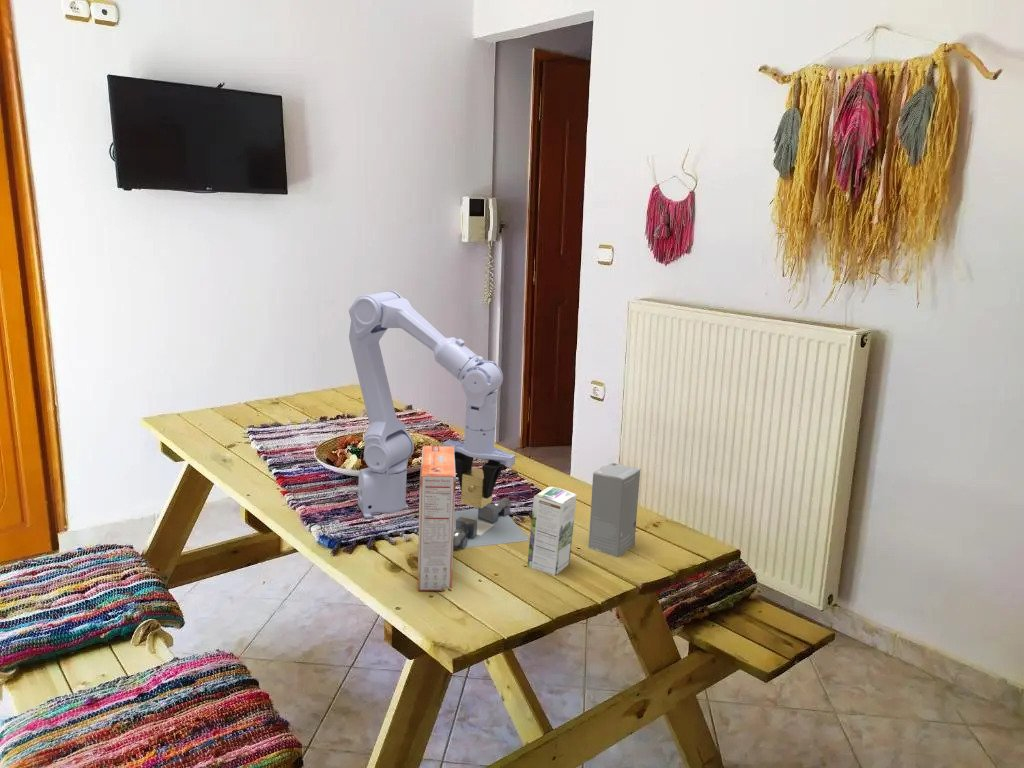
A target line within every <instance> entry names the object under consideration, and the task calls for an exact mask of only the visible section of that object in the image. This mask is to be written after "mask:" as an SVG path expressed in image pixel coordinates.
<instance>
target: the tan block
mask: <svg viewBox="0 0 1024 768" xmlns="http://www.w3.org/2000/svg"><path fill="white" fill-rule="evenodd" d="M460 494H461V497H460V498H461V499H460V504H462V505H466V506H470V507H474V508H476V509H478V508H483V507H484V506H486V505H487V504H489V503H492V502H493V495H492V496H490V497H489V498H488V499H486V498H484V474H483V469H482V468H479V467H478V468H477V467H471V469H470V470H469V471H467V472H465V473H463V475H462V492H461V493H460Z"/></svg>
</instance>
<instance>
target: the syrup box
mask: <svg viewBox="0 0 1024 768" xmlns="http://www.w3.org/2000/svg"><path fill="white" fill-rule="evenodd" d="M577 498H578V494H576V493H575V492H572V491H569V490H566V489H563V488H560V487H555V486H547V488H544V489H543V490H542V491H540V492H539V493H537V494H535V495H533V502H532V511H531V512H532V514H531V522H530V523H531V524H530V534H529V535H530V536H529V539H530V541H529V544H528V545H529V546H528V553H527V554H528V557H527V565H526V567H528V568H531V569H533V570H536V571H538V572H543V573H545V574H549V575H552V576H557V575H558V574H559V573H561V572H562V571H563V570H564V569H565V568H566V567H567V566H569V565H570V563H571V562H570V561H571V555H572V554H571V552H572V543H573V535H574V534H573V533H574V527H575V526H574V525H575V516H576V515H575V514H576V507H577V505H576V504H577Z"/></svg>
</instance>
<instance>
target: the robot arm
mask: <svg viewBox="0 0 1024 768" xmlns="http://www.w3.org/2000/svg"><path fill="white" fill-rule="evenodd" d="M348 313H349V317H350V327H349V335H348V337H349V344H350V347H351V348H350V349H351V353H352V357H353V361H354V365H355V369H356V374H357V378H358V383H359V387H360V389H361V394H362V399H363V403H364V407H365V411H366V416H367V419H368V426H367V429H366V431H365V433H364V435H363V442H364V450H363V458H364V462H365V464H366V465H367V466H368V467H366V468H365V467H364V468H361V469H359V471H358V485H357V486H358V498H357V500H358V501H357V504H358V507H359V509H360V511H361V513H362V516H363V517H364V519H367V518H375V516H374V515H373V514H375V513H395V512H399V511H401V510H403V509H405V508H409V505H408V503H407V500H406V499H407V477H408V476H407V472H408V467H407V466H408V461H409V459H410V457H412V455H413V454H414V451H415V444H414V440H413V438H412V437H411V435H410V434H409V432H408V430H407V427H406V424H405V423H404V422H403V421H402V420H400V419H399V417H397V414H396V410H395V409H396V408H395V406H394V401H393V396H392V392H391V389H390V385H389V380H388V379H389V378H388V375H387V371H386V367H385V361H384V359H383V354H382V350H381V346H380V341H381V339H382V337H384V334H385V333H386V332H387V330H388V329H402V330H403V331H404V332H405V333H407V334H408V335H410V336H411V337H413V338H414V339H416V340H417V341H418V342H420V343H421V344H422V345H424V346H426V347H427V348H428V349H430V350H431V351H432V352H433V355H434V361H435V362H436V363H437V364H439V365H440V366H441V367H442V368H443V369H445V370H446V371H447V372H448V373H450V374H451V375H452V376H453V377H455V379H457V380H458V381H459V382H460V383H461V388H462V390H463V391H464V394H465V395H466V398H465V399H466V400H465V419H464V421H465V423H464V439H463V440H464V441H460V440H459V441H458V440H451V439H448V440H446V441H444V442H443V446H442V447H448V446H449V447H454V455H455V472H456V476H457V478H458V482H459V486H460V492H461V493H462V475H463V473H465V472H467V471H469V470H470V469H472V468H473V462H474V459H479V460H483V461H488V462H487V463H485V464H483V465H482V466H481V469H483V474H484V498H486V499H488V498H489V497H490V496H492V497H493V491H494V489H495V485H496V484H497V480H498V478H499V476H500V474H501V473H502V471H503V469H504V468H505V467H507V468H512V467H513V466H515V465H516V455H515V454H512V453H510V452H507V451H504V450H502V449H499V448H497V447H495V442H496V441H495V437H496V423H497V407H498V405H497V404H498V389H499V388H500V387H501V386H502V385H503V382H504V374H503V371H502V369H501V367H500V366H499V365H498V364H497V362H495V361H492V360H484V357H482V356H481V355H479V356H478V355H477V354H476V353H475V352H474V351H472V350H471V349H470V348H468V346H466V345H465V344H466V341H464V340H463V339H462V338H458V339H457V338H456V337H453V336H451V337H445V336H444V335H443V334H442V333H441V332H440V331H438V330H437V329H436V328H435V326H433V325H432V324H431V323H430V322H429V321H427V319H426V318H424V316H422V315H421V314H420V313H419V312H418V311H416V309H414V308H413V306H412V305H411V303H410V301H409V300H408V299H406V298H405V297H402V296H401V295H400V293H399V292H397V291H395V290H389V289H388V290H385V291H381V292H378V293H376V292H375V293H371V294H362V295H359V296H358V297H356V299H355V300H354V301H353V303H352V305H351V306H350V307H349V309H348Z"/></svg>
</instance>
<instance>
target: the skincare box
mask: <svg viewBox="0 0 1024 768" xmlns="http://www.w3.org/2000/svg"><path fill="white" fill-rule="evenodd" d="M640 479H641V469H640V468H638V467H632V466H627V465H624V464H619V463H613V462H611V463H608V464H606V465H603V466H601V467H600V468H599V469H598V470H595V471H593V473H592V483H591V485H592V487H591V501H590V503H591V504H590V520H589V534H588V538H589V539H588V549H591V550H594V551H596V552H600V553H603V554H606V555H610V556H612V557H616V558H620V557H621V556H622V555H624V553H626V552H627V551H628V550H629V549H631V547H632V546H633V547H634V546H635V542H636V529H637V528H636V527H637V517H638V516H637V515H638V504H639V492H640V489H639V488H640Z"/></svg>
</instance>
